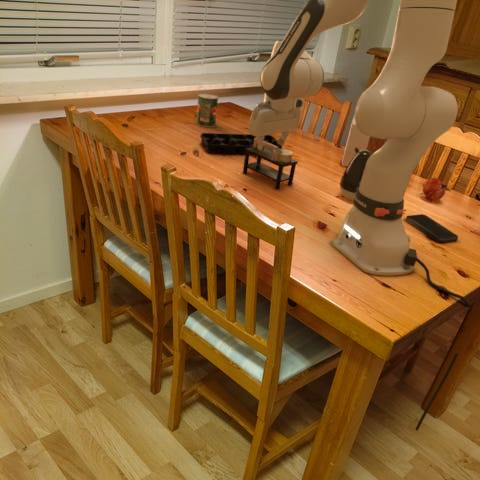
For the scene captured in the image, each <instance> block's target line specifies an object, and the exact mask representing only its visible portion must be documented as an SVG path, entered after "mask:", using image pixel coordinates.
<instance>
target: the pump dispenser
mask: <svg viewBox="0 0 480 480" xmlns="http://www.w3.org/2000/svg"><path fill="white" fill-rule="evenodd" d="M355 152H356V155H355V156H354V157H353V158H352V159H351V161H350V162H349V164H348V166H347V167H346V168H345V170H344V172H343V173H342V176H341V178H340V181H339V187H340V189H339V190H340V194H341V195H342V197H343V198H345V200H348V201H349V202H350V201H351V202H353V200H354V196H355V193H356V191H357V189H358V188H359V186H360V183H361V180H362V176H363V173H364V169H365V166H366V162H367V160H368V158H369V157H370V156H371V155H372V154H373V153H372V151H369V150H367V149H366V150H361V151H359V149H358V148H355Z"/></svg>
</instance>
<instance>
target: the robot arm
mask: <svg viewBox="0 0 480 480" xmlns="http://www.w3.org/2000/svg"><path fill="white" fill-rule="evenodd" d="M371 1H372V0H308V1H307V2H306V3H305V4H304V6H303V7H302V8H301V10H300V12H299V13H298V15H297V16H296V18H295V20H294V21H293V22H292V24H291V26H290V28H289V29H288V30H287V32H286V35H285V36H284V37H283V38H280V39H278V40H276V41H275V42H274V45H273V48H272V51H271V54H270V57H269V58H268V59H267V61H266V62H265V63H264V66H263V67H262V70H261V72H260V85H261V89H262V90H263V92H264V97H263V101H262V102H257V104H256V105H255V106H254V107H253V109H252V112H251V115H250V119H249V123H248V128H247V132H248V134H251V135H253V136H255V137H256V139H257V142H258V147H257V148H258V149H259V150H263V149H265V144H264V143H263V139H264V137H265V135H271V136H272V135H276V134H281V135H280V137H279V138H277V141H278V143H277V144H278V145H280V146H282V147H283V146H285V143H286V140H287V138H288V137H289V135H290V132H292V131H293V132H294V131H297V130H298V128H299V127H300V123H301V119H302V113H303V111H302V110H303V109H302V108H303V107H304V105H305V100H304V99H302V98H312V97H315V96H317V95H318V94H319V93H320V91H321V90H322V88H323V85H324V82H325V81H324V80H325V71H324V68H323V66H322V64H321V62H320V61H318V60H316V59H314V58H313V57H312V56H310V54H309V53H308V52H307V48H308V46H309V45H310V43H311V42H312V41H313V40H314V39H315V38H316V37H317V36H319V35H320V34H322V33H324V32H326V31H329V30H331V29H334V28H337V27H341V26H344V25H348V24H350V23H352V22H354V21H356V20H357V19H359V17H360V16H361V15H362V14H363V13H364V12H365V10H367V8H368V6H369V4H370V3H371ZM457 2H458V0H400V2H399V7H398V11H397V19H396V23H395V29H394V33H393V39H392V43H391V48H390V51H389V54H388V57H387V59H386V62H385V64H384V66H383V68H382V70H381V72H380V73H379V75H378V77H377V78H376V80H374V82H373V83H372V85H370V86H369V87H368V88H366V89H365V90H364V92H362V94H361V95H360V96H359V98H358V100H357V102H356V104H355V108H354V114H355V122H356V125H357V127H358V129H359V131H360V132H361V133H362V134H364V135H367V136H370V138H374V139H375V138H376V139H379V140H386V141H385V142H384V144H383V145H382V146H381V147H380V148H379V149H377V150H376V151H374V152H373V153H371V154H372V155H371V156H370V157H369V158H368V160H367V162H366V166H365V169H364V173H363V176H362V180H361V183H360V186H359V188H358V189H357V191H356V193H355V196H354V200H353V201H352V206H351V208H350V210H349V211H348V212H347V213H346V215H345V216H344V219H343V221H342V224H341V227H340V229H339V231H338V234H337V237H335V238H334V239H333V241H332V242H331V245H332V247H334V248H335V249H336V250H338V251H339V252H340V253H342V254H343V255H344V256H345V257H346V258H347V259H349V261H351V262H352V263H353V264H354V265H356V266H357V268H359V269H360V270H361V271H362V272H364V273H367V274H370V275H375V276H385V277H386V276H390V277H391V276H403V275H408V274H410V273H412V272H413V271H414V269H415V268H414V267H415V265H416V263H418V264H419V265H420V266H421V267H422V268H423V270H424V271H425V276H426V281H427V282H428V284H429V285H430V286H431V287H433V288H435V289H436V290H438V291H440V292H442V293H445V294H447V295H449V296H451V297H454V298H457V299H460V300H461V301H463V302H464V303H465V305H466V307H467V309H471V310H472V305H471V303H470V301H469V300H468V299H467V298H466V297H464V296H463V295H460V294H458V293H455V292H453V291H451V290H448V289H446V288H443V287H441V286H439V285H438V284H436V283H434V282H433V281H432V279H431V275H430V270H429V268H428V267H427V265H426V264H425V263H424V262H423V261H421V259H419V258H418V254H417V250H416V249H414V248H410V242H411V236H410V235H408V234H407V232H406V229H405V225H404V223H403V218H402V217H403V215H406V213H405V212H407V209H404V208H405V199H404V198H405V195H406V192H407V189H408V186H409V184H410V182H411V179H412V176H413V174H414V172H415V170H416V168H417V166H418V165H419V163H420V161H421V160H422V158H423V156H424V155H425V154H426V153H427V151H428V150H429V149H430V147H431V146H432V145H433V144H434V143H435V142H436V141H437V140H438V139H439V138H440V137H441V136H443V135H444V134H445V133H446V132H448V131H449V130H450V129H451V128H452V127H453V125H454V124H455V122H456V119H457V117H458V116H457V115H458V110H459V109H458V108H459V107H458V102H457V98H456V97H455V96H454V94H453V93H451V92H450V91H447V90H445V89H442V88H440V87H437V86H427V85H422V84H423V82H424V79H425V77H426V75H427V74H428V72H429V71H430V70H431V68H432V67H433V66H434V65H435V64H437V63H439V62H440V61H441V60H442V59H443V57H444V56H445V54H446V53H447V50H448V44H449V40H450V35H451V33H452V32H451V31H452V27H453V23H454V17H455V13H456V7H457V4H458V3H457ZM458 356H459V353H458V352H457V353H454V354H453V357H452V359H451V362H450V363H449V365H448V367H447V369H446V372H445V373H444V375H443V377H442V379H441V381H440V383H439V384H438V386H437V388H436V390H435V391H434V393H433V395H432V397H431V399H430V400H429V402H428V404H427V406H426V408H425V409H424V411H423V413H422V415H421V417H420V419H419V421H418V423H417V425H416V427H415V431H416V432H417V431H419V429H420V427H421V425H422V423H423V421H424V420H425V417H426V415H427V414H428V412H429V410H430V408H431V406H432V405H433V404H434V401H435V399H436V398H437V396H438V394H439V392H441V391H440V390H441V389H442V387H443V385H444V384H445V382H446V380H447V378H448V376H449V375H450V372H451V370H452V369H453V367H454V365H455V363H456V360H457V358H458Z"/></svg>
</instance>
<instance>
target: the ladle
mask: <svg viewBox="0 0 480 480" xmlns="http://www.w3.org/2000/svg"><path fill="white" fill-rule="evenodd" d="M263 143H264V144H265V147H267V148H269V149H271V150H273V156H272V159H273V160H275V161H277V162H281V163H289V162H291V160H292V159H293V153H294V152H293V151H291V150H289V149H287V148H286V149H285V148H282V149H280V148H279V147H277V146H275V145H273V144H270V143H268V142H266V141H263ZM257 147H258V142H257V139H256V138H254V144H253V148H255V149H258V148H257Z"/></svg>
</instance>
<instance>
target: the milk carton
mask: <svg viewBox="0 0 480 480" xmlns="http://www.w3.org/2000/svg"><path fill="white" fill-rule="evenodd" d="M370 138H371V136H367V135H364V134H362V133H361V132H360V131H359V129H358V127H357V125H356V122H355V113H353V117H352V119H351V124H350V127H349V132H348V136H347V139H346V143H345V147H344V152H343V155H342V158H341V166H342V167H346V168H347V166H348V164H349V162H350V161H351V159H352V158H353V157H354V156H355V155H356V152H355V148H358V149H359V151H361V150H367V148H368V146H369V142H370Z"/></svg>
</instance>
